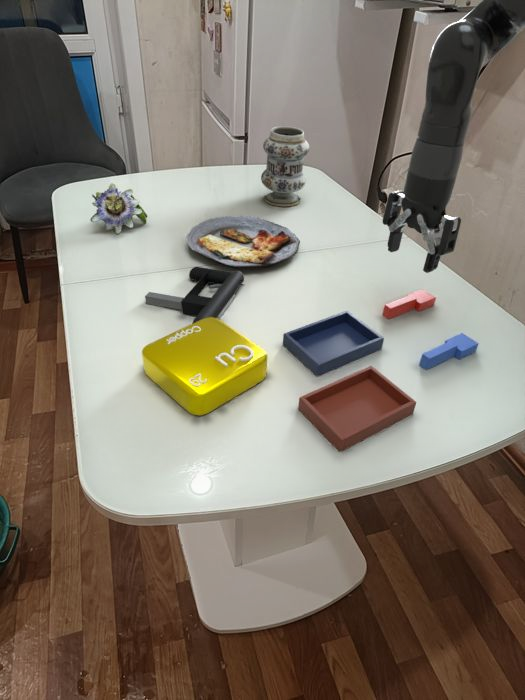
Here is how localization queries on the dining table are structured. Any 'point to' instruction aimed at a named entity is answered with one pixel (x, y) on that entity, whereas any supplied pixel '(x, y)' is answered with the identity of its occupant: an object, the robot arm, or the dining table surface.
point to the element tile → (204, 365)
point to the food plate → (243, 241)
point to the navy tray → (332, 342)
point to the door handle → (201, 304)
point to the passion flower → (117, 208)
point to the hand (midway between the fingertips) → (410, 260)
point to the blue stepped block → (449, 350)
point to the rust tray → (356, 407)
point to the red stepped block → (409, 303)
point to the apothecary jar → (284, 165)
